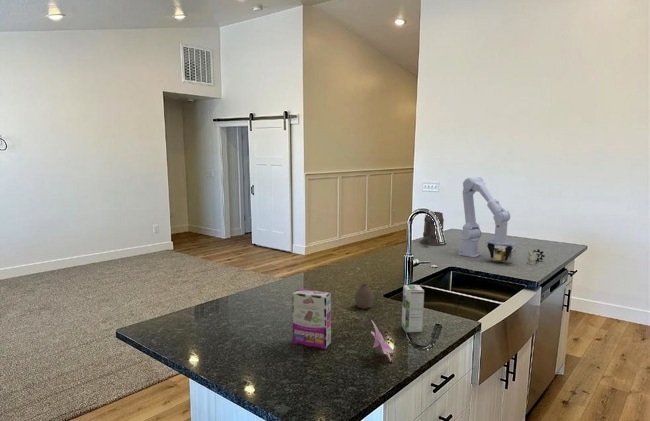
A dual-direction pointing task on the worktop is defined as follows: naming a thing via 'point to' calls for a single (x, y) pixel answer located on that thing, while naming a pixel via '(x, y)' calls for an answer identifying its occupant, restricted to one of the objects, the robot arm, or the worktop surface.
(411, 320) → the syrup box
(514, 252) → the housing
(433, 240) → the tankard
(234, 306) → the worktop surface
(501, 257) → the gold rounded block
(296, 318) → the candy bar box
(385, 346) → the lily
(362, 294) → the vase
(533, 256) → the valve
